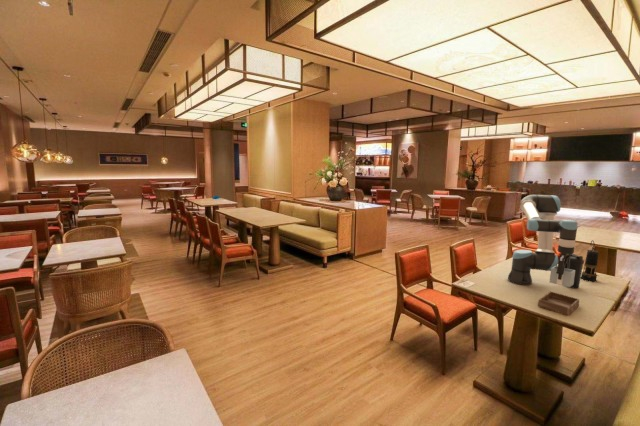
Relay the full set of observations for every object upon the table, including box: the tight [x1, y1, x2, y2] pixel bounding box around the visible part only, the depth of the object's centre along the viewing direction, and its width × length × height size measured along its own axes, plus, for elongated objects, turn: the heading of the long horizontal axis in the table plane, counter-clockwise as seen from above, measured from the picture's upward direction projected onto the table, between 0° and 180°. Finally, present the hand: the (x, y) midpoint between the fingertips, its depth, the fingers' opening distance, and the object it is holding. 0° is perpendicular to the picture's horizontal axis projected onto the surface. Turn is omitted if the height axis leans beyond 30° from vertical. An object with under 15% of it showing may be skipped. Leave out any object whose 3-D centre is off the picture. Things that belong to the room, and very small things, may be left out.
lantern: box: [580, 240, 600, 283], centre depth 231 cm, size 9×9×30 cm
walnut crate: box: [537, 291, 580, 317], centre depth 190 cm, size 20×15×4 cm
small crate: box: [549, 265, 575, 288], centre depth 187 cm, size 7×10×9 cm
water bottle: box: [568, 253, 585, 289], centre depth 219 cm, size 10×10×23 cm
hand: (561, 282), depth 188 cm, fingers closed on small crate, 7 cm apart
